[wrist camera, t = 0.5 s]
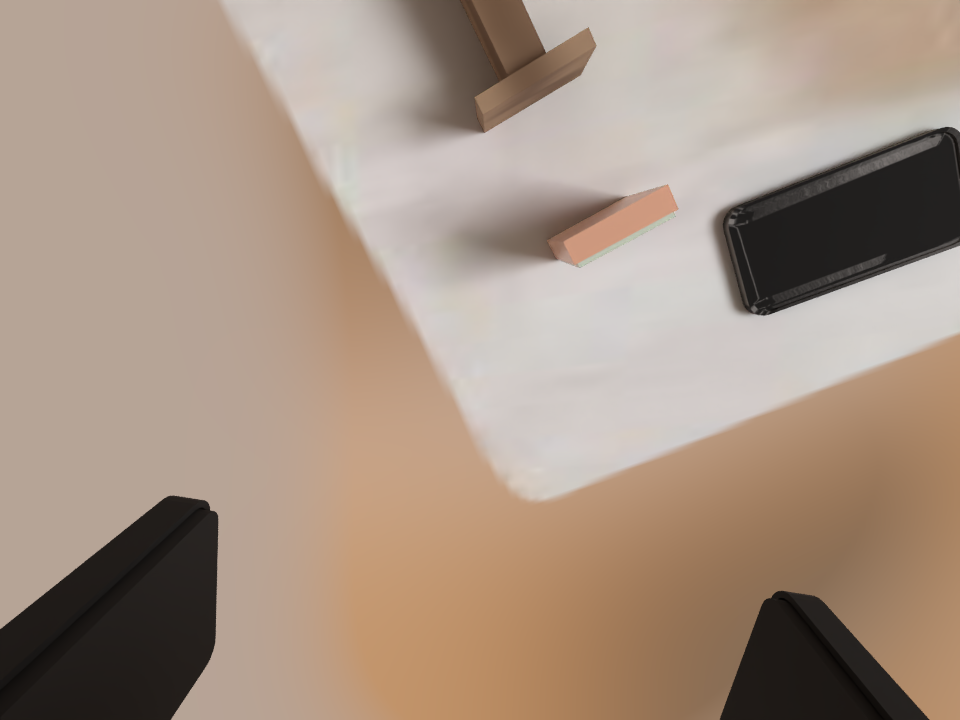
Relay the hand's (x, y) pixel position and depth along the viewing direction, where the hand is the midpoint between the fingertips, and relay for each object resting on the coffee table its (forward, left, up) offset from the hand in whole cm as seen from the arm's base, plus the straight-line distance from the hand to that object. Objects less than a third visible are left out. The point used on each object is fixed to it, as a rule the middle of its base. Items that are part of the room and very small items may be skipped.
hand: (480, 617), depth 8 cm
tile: (-9, -2, -28) cm, 29 cm away
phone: (-24, +6, -28) cm, 38 cm away
